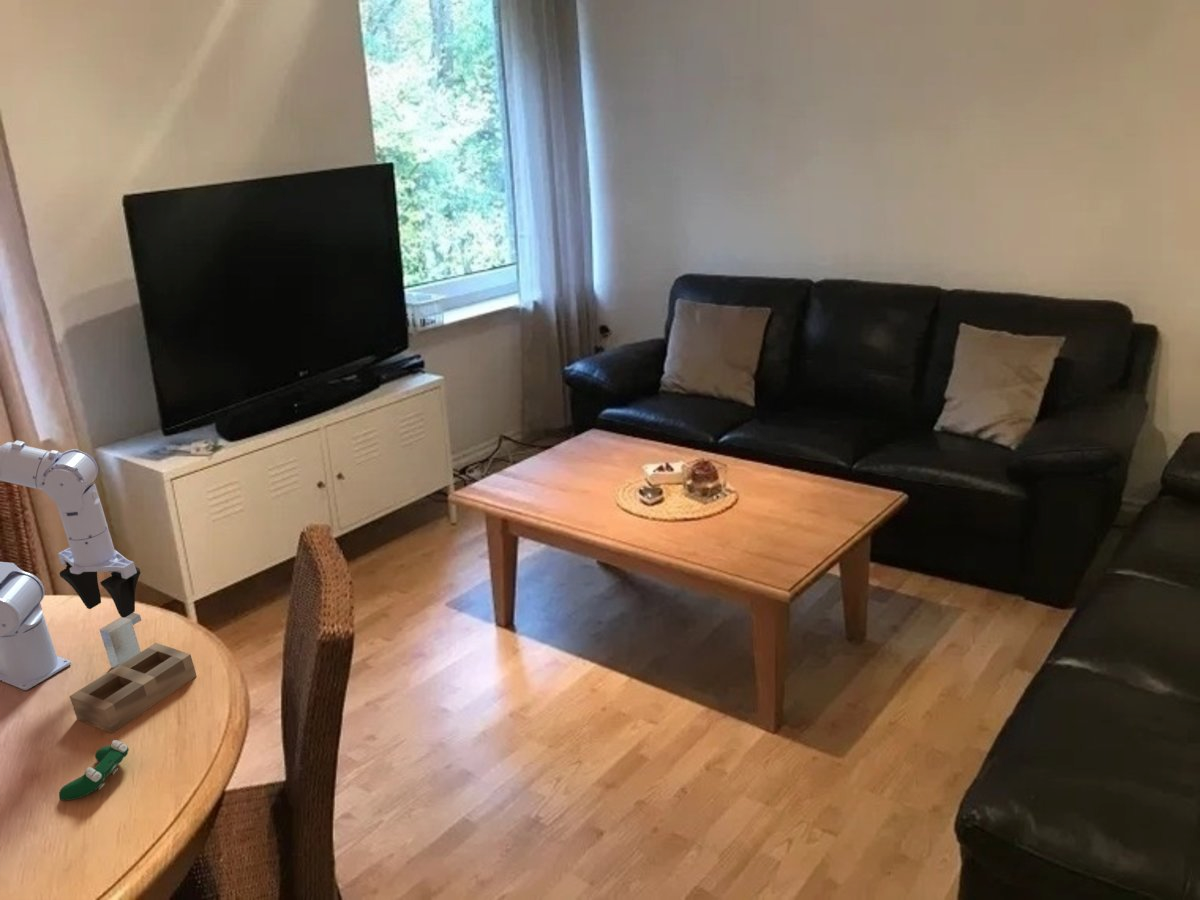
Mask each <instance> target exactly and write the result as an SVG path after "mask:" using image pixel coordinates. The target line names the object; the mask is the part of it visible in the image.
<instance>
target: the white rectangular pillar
mask: <svg viewBox="0 0 1200 900" xmlns="http://www.w3.org/2000/svg"><path fill="white" fill-rule="evenodd" d="M141 621H142V617H141V614H140V613H135V612H133V613H132V614H130V615H128V616H127V617H125V618H123V617H121V616H120V617H119V618H117V619H115V620H114V621H112V622H110V623H108V624H106V625H105V626H103V627H101V628H99V633H100V637H101V639H102V643H103V646H104V649H105V652H106V655H107V659H108V662H109V665H110V668H111V669H113V668H116V667H118V666H119V665H121V664H122V663H124V662H126V661H127V660H129V659H130V658H132V657H134V656H135V655H137V654H139V653H140V652H142V651H141V648H140V644H139V641H138V638H137V635H136V631H135V627H134V625H137V623H140V622H141Z"/></svg>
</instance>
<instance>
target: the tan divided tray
mask: <svg viewBox="0 0 1200 900" xmlns="http://www.w3.org/2000/svg"><path fill="white" fill-rule="evenodd" d="M194 665H195V664H194V662H193V659H192V655H191V653H188V652H185V651H181V650H179V649H176V648H172V647H170V646H167V645H164V644H161V643H158V642H155V643H154V644H151V645H150V646H149V647H146V648H145V649H144V650H142V651H141V652H140V653H139V654H137V655H135V656H134V657H132V658H130V659H129V660H127V661H126V662H124V663H122V664H121V665H119V666H118V667H116V668H114V669H113V668H112V669H111V670H110V671H108V672H106V673H105V674H103V675H101V676H100V677H98V678H97V679H95V680H93V681H91V682H90V683H88V684H86V686H83V687H82V688H80V689H79V690H77V691H76V692H74V693H72V694H70V695H69V699H70V702H71V705H72V708H73V711H74V714H75V717H76V719H77V720H78V721H81V722H83V723H85V724H88V725H89V726H90V725H91V726H93V727H96V728H98V729H100V730H102V731H105V732H108V733H110V734H113V733H114V732H116V731H118V730H119V729H121V728H122V727H124V726H125V725H126V724H128V723H129V722H131V721H132V720H134V719H135V718H137V717H138V716H139V715H141V714H143V713H145V712H146V711H148V710H149V709H151V708H152V707H153V706H155V705H157V704H158V703H159V702H161V701H162V700H164V699H165V698H168V696H170V695H171V694H173V693H174V692H176V691H177V690H179V689H180V688H182V687H183V686H185V685H186V684H188V683H189V682H191V681H192V680H193V679H195V678H196V677H197V673H196V670H195V666H194Z"/></svg>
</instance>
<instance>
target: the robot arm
mask: <svg viewBox="0 0 1200 900" xmlns="http://www.w3.org/2000/svg"><path fill="white" fill-rule="evenodd" d="M98 466H99V465H98V464H97V462H96V460H95V459H94V458H93V456H91V455H89V453H87V452H84V451H81V450H80V449H77V448H75V449H74V448H73V449H68V450H65V451H64V452H60V451H58V450H55V449H51V450H47V449H46V450H45V449H42V448H37V447H33V446H29V445H26V442H25V441H21V440H15V441H13V442H11V441H7V442H5V443H3V444H1V445H0V482H6V483H9V484H13V485H18V486H22V487H28V488H31V489H37V490H40V491H43V492H44V494H45V495H46V496H47V497H48V498H50V499H51V500H52V501H53V502H54V503H55V506H56V509H57V512H58V513H59V517H60V519H61V520H60V521H61V523H62V526H63V530H64V532H65V536H66V539H67V543H68V545H69V547H67V548H66V549H64V550H62V551H60V552H58V553H57V555H58V558H59V562H60V565H63V566H65V568H64V569H62V570H61V571H59V577H60V578H61V579H63V580H64V581H66V582H67V583H68V584H69V586H71V588H72V589H73V590H74V591H75V592H76V594H77V595H78V597H79V599H80V600H81V601H82V603H83V604H84V606H85V607H86V608H87V609H88V610H91V609H93V608H95V607H97V606H98V605H100V604H101V603H102V596H101V591H100V585H101V586H102V587H103V588H104V589H105V590H106V592H107V593H108V594H109V596H110V597H111V599H112V601H113V603H114V605H115V607H116V608H115V609H116V611H117V612H118V614H119V616H120V617H123V618H125V617H127V616H128V615H130V614H132V613H135V609H136V589H137V584H138V580H139V578H140V575H141V569H140V568H139V567H136V565H135V562H134V561H133V560H129V559H128V558H126V557H125V556H123V554H121V553H120V552H119V551H117V550H116V549H115V547H114V542H113V540H112V536H111V532H110V530H109V527H108V526H109V525H108V522H107V519H106V515H105V512H104V509H103V505H102V501H101V499H100V496H99V492H98V488H97V486H96V483H94V481H96V478H97V476H98V473H99V467H98ZM99 572H107V573H110V574H111V576H108V577H107V578H105V579H103V580H102V581H100V585H99V582H98V581H99V580H98V573H99ZM45 590H46V588H45V586H44V584H43V582H42V581H41V580H40V578H38V577H37V576H36V575H35V574H32V573H30V572H27V571H24V570H23V569H21V568H19V567H18V565H16V564H15V563H14V562H7V561H6V562H5V561H0V681H1V680H2V681H1V682H3V683H6V684H9V685H11V686H13V687H16V688H19V689H20V690H23V691H28V690H30V689H32V688H33V687H34V686H37V685H38V684H40V683H41V682H43V681H45V680H47V679H48V678H50V677H52V676H53V675H55V674H57V673H58V672H60V671H62V670H63V669H65V668H66V667H68V666H70V665H71V664H72V661H71V660H69V659H66V658H63V657H62V656H58V655H57V653H56V652H57V651H56V650H55V645H54V644H53V640H52V637H51V633H50V631H49V629H48V625H47V622H46V619H45V615H44V613H43V608H42V603H41V602H42V601H43V600H44V598H45V592H46V591H45Z"/></svg>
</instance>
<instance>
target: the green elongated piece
mask: <svg viewBox="0 0 1200 900" xmlns="http://www.w3.org/2000/svg"><path fill="white" fill-rule="evenodd" d="M129 750H130V749H129V747H128V746H127V744H125V743H122V742H121V741H120V740H116V739H113V740H112V742H111V744H110V745H105V746H103V747H100V748H99V749H97V751H96V752H95V754H94V758H95V759H96V761H97V763H98V764H97V765H96V766H95V767H94V768H93V767H92V766H88V767H86V769H85V772H84V774H83V775H82V776H80V777H78V778H76V779H74V780H72V781H70V782H69V783H67V784H65V785H63V786H62V787H61V789H60V790H59V791H58V792H59V793H58V798H59V801H70V800H71V801H72V800H76V799H80V798H82V797H85V796H87V795H89V794H91V793H92V792H93V793H94V792H95V790H99V791H101V789H102V788H103V787H104V786H105V784H106V783H105V782H104V780H105V779H106V778H107V777H108V776H109V775H110V774H111V775H115V773H117V771H118V770H119V768H118V765H119V764H120V763H122V761H123V759H124V758H126V756H127V755H128V753H129Z"/></svg>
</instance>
